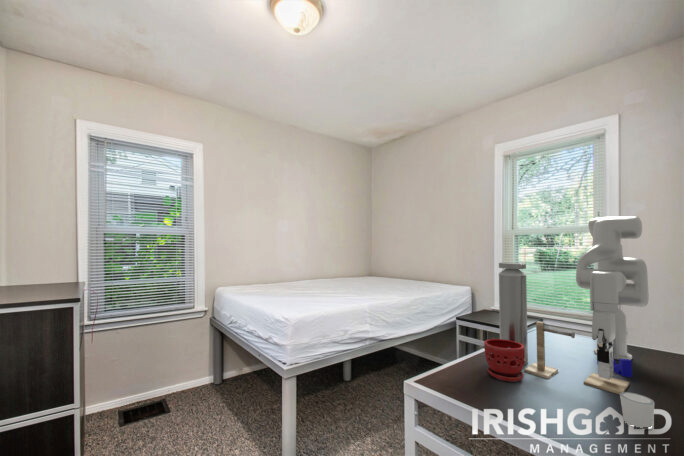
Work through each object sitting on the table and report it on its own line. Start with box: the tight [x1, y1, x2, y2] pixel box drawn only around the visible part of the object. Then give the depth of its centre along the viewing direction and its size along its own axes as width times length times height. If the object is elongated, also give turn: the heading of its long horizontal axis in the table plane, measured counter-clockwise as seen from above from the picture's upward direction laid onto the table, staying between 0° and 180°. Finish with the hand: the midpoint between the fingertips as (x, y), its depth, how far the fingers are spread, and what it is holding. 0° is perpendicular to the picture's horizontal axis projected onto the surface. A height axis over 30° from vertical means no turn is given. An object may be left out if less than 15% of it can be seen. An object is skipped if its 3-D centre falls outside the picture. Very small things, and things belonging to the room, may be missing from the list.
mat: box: [583, 372, 630, 395], centre depth 108 cm, size 12×10×1 cm
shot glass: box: [619, 391, 655, 428], centre depth 84 cm, size 7×7×7 cm
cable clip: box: [596, 359, 633, 378], centre depth 121 cm, size 12×4×6 cm, turn 170°
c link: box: [597, 344, 615, 380], centre depth 108 cm, size 6×3×10 cm, turn 129°
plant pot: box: [483, 338, 525, 382], centre depth 114 cm, size 13×13×12 cm
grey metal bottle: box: [498, 261, 529, 367], centre depth 129 cm, size 10×10×40 cm
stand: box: [523, 320, 576, 380], centre depth 116 cm, size 10×15×18 cm
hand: (605, 359), depth 108 cm, fingers closed on c link, 6 cm apart
